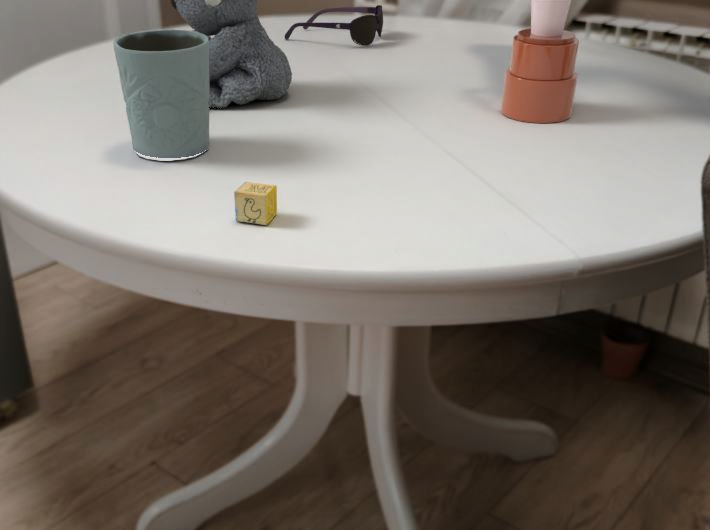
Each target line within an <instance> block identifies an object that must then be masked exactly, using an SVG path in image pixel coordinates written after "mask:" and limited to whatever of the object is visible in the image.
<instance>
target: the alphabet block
mask: <svg viewBox="0 0 710 530" xmlns="http://www.w3.org/2000/svg"><path fill="white" fill-rule="evenodd" d="M233 193H234V195H233V197H234V213H235V215H234V216H235V221H236V222H241V223H247V224H256V225H261V226H268V225H269V224H270V223H271V221H273V220H274V218H275V217H276V216H277V215H276V214H278V187H277V185H276V184H270V183H269V184H267V183H259V182H251V181H245V182H243V183H242V184H241V185H240V186H239V187H237V189H236V190H234V192H233ZM275 215H276V216H275ZM274 216H275V217H274ZM273 217H274V218H273Z"/></svg>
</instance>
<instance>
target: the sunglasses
mask: <svg viewBox="0 0 710 530" xmlns="http://www.w3.org/2000/svg"><path fill="white" fill-rule="evenodd" d="M335 12H336V13H338V12H339V13H359V14H360V13H361V14H364V15H360V16H358V17H356V18H354V19H352V20H351V21H350V22H315V20H316V19H317V18H318V17H319V16H321V15H323V14H326V13H335ZM299 27H302V29H303V30H308V29H309V28H322V29H331V30H346V31H349V35H350V38H351V40H352V42H353V43H355V44H356V45H358V46H361V47H363V46H364V47H366V46H370V45H371V44H372V43H373V42H374V40H375V38H376V34H377V36H378V37H379V38H381V37H382V32H383V27H384V14H383V6H382V5H381V4H380V5H378V4H377V5H376V6H346V7H331V8H330V7H329V8H324V9H321V10H319V11H317V12H315V13H314V14H313V15H312V16H311V17H309V18H308V20H307V21H305V22H295V23H294V24H292V25H291V26H290V28H288V30H287V31H286V32H285V34H284V39H285V40H286V41H288V40H289V39H290V37H291V35H292V34H293V32H294V30H295V29H296V28H299Z"/></svg>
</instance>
